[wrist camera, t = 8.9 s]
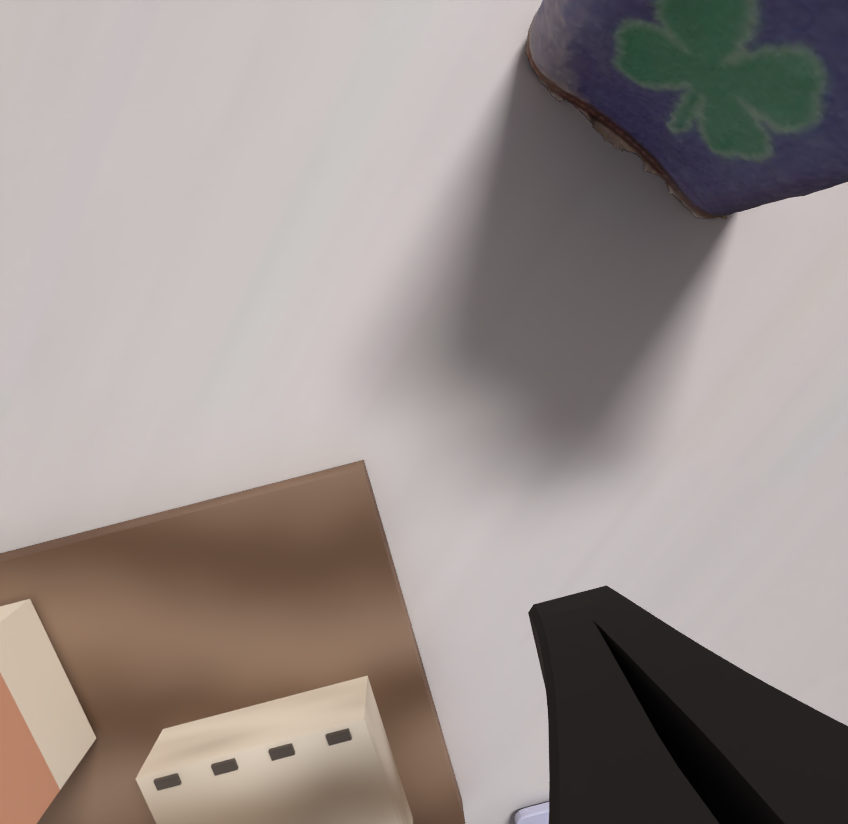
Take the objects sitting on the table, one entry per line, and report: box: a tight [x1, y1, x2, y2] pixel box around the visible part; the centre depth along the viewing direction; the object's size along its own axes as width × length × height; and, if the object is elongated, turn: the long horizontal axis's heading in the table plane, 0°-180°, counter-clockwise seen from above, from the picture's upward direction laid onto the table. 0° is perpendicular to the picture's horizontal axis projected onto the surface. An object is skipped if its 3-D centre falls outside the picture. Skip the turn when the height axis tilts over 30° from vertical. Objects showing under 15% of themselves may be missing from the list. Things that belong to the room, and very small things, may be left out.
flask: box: [526, 0, 848, 219], centre depth 11 cm, size 9×3×11 cm, turn 55°
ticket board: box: [0, 460, 465, 824], centre depth 18 cm, size 16×20×3 cm
